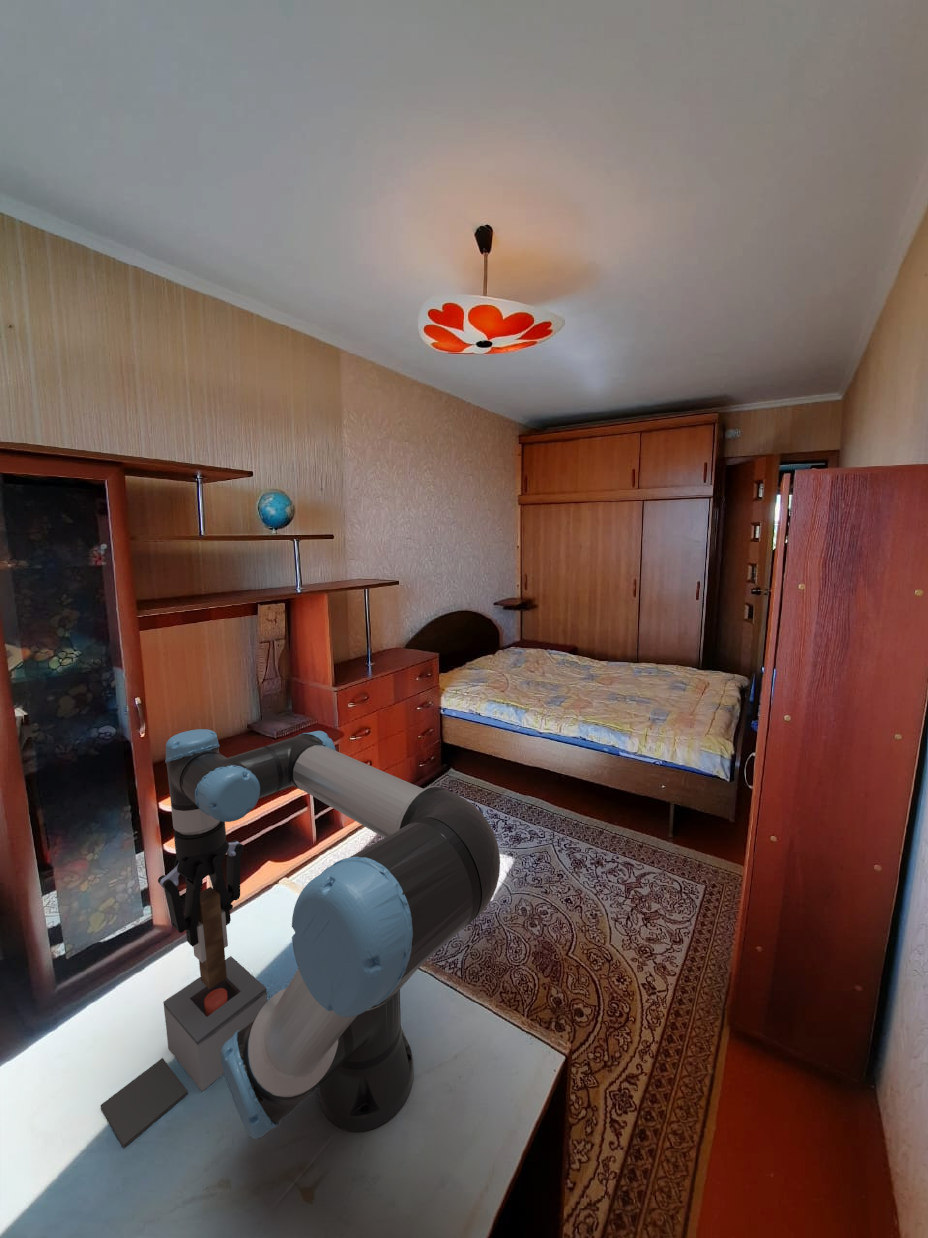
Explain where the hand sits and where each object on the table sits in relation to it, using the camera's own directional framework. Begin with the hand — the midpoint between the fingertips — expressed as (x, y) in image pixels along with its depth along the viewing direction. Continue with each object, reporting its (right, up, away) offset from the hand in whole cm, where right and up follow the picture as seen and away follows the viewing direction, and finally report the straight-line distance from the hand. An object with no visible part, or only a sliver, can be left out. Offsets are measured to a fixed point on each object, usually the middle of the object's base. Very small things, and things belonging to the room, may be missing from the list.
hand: (211, 950), depth 85 cm
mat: (-7, -19, -7) cm, 22 cm away
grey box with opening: (0, -18, +2) cm, 18 cm away
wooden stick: (0, -5, +1) cm, 6 cm away
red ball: (0, -13, +2) cm, 14 cm away
